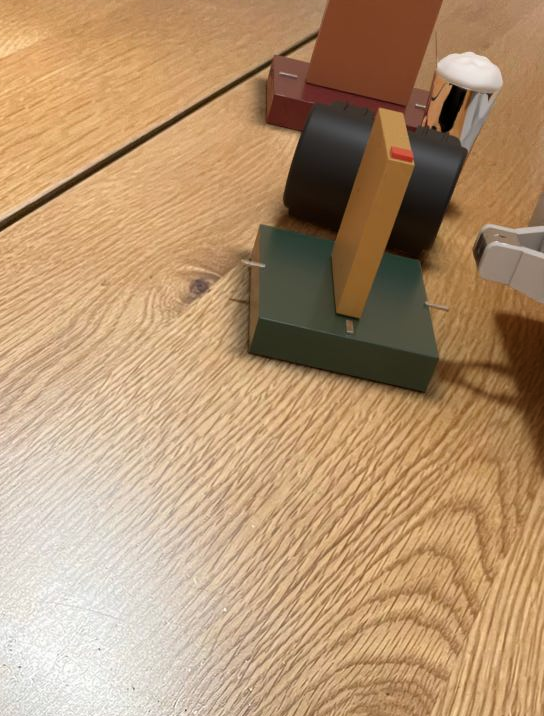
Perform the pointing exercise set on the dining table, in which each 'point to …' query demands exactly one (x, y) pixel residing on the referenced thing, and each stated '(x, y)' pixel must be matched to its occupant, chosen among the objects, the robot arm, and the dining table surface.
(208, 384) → the dining table surface
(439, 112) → the milkshake
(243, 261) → the green pinned base
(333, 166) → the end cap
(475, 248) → the robot arm
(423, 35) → the upright brown plank
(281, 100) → the dark red base box
